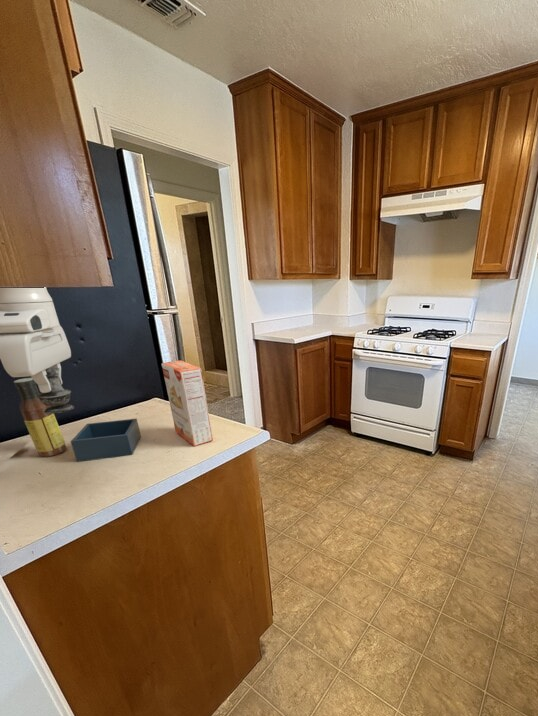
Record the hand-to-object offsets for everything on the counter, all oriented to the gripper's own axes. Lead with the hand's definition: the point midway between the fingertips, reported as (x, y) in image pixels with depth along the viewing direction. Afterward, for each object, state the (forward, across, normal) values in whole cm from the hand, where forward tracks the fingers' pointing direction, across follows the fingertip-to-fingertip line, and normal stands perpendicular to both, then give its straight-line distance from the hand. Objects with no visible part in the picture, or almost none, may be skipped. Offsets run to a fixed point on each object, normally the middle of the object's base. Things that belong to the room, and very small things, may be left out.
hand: (52, 388), depth 73 cm
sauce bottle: (+21, -17, -12) cm, 30 cm away
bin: (+21, -15, +3) cm, 26 cm away
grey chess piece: (+5, 0, 0) cm, 5 cm away
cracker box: (+21, -17, +24) cm, 36 cm away
